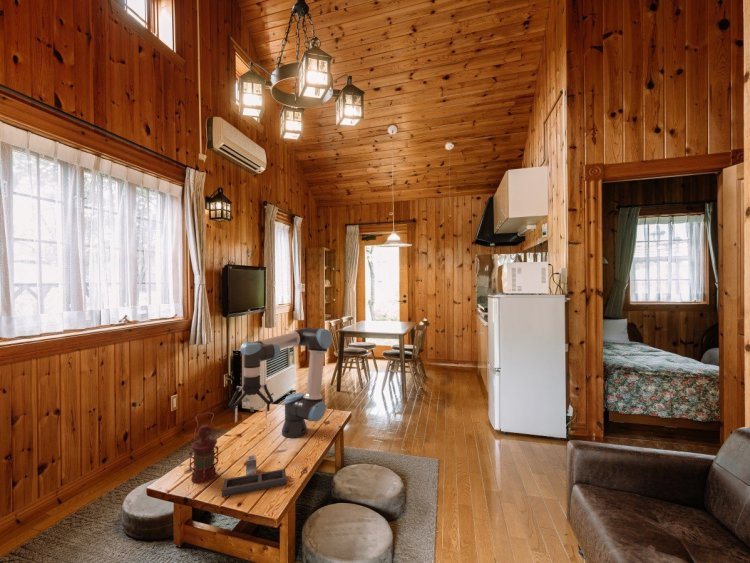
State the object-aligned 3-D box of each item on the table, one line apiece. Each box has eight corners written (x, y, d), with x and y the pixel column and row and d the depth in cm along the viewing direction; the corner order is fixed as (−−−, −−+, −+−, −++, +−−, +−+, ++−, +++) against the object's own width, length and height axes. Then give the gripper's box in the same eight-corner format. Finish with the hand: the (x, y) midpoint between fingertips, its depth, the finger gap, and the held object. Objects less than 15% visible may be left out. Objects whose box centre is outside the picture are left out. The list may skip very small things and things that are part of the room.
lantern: (188, 487, 147) (189, 419, 148) (189, 473, 158) (190, 410, 159) (218, 480, 153) (219, 415, 153) (217, 467, 164) (218, 406, 164)
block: (256, 469, 162) (256, 454, 162) (256, 474, 158) (256, 458, 158) (246, 470, 161) (246, 455, 161) (246, 475, 157) (246, 460, 157)
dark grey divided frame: (284, 475, 157) (285, 468, 157) (286, 485, 149) (286, 478, 149) (224, 486, 148) (224, 479, 148) (222, 497, 140) (222, 490, 141)
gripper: (278, 371, 168) (277, 413, 167) (224, 375, 160) (223, 419, 159) (279, 375, 161) (278, 419, 160) (223, 379, 153) (222, 425, 152)
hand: (251, 419), depth 160 cm, fingers open, 13 cm apart
